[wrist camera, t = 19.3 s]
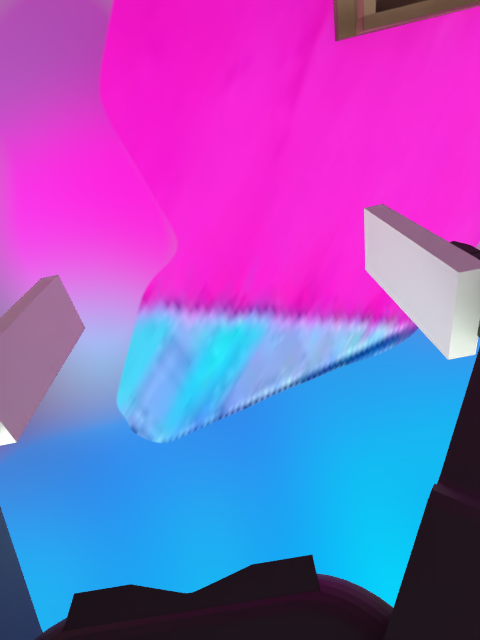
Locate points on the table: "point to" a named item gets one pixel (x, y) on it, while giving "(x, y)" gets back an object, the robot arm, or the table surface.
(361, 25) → the brown wooden box holder
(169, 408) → the table surface
